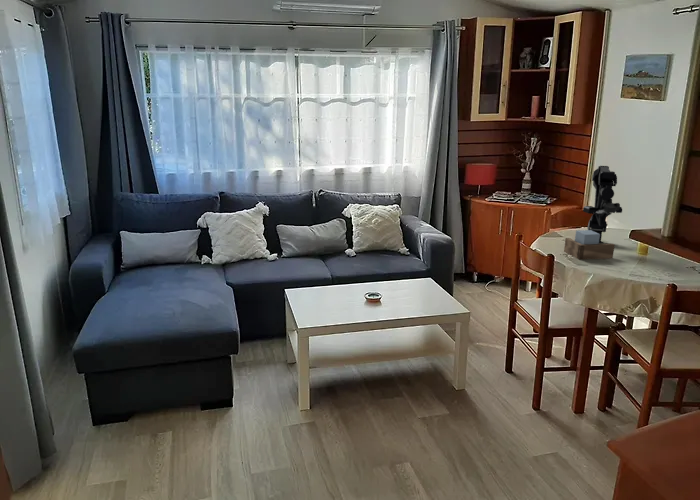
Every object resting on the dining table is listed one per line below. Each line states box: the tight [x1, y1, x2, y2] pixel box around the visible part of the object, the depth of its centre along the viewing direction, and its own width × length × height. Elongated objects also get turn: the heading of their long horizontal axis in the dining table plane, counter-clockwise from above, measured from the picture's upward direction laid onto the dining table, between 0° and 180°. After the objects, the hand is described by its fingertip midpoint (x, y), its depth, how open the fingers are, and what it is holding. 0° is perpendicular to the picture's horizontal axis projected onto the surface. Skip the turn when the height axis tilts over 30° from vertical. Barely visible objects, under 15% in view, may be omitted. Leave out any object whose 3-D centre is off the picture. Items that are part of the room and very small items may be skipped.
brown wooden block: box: [563, 237, 615, 260], centre depth 280 cm, size 14×18×7 cm
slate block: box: [574, 229, 600, 244], centre depth 278 cm, size 8×8×12 cm
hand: (600, 225), depth 290 cm, fingers closed
